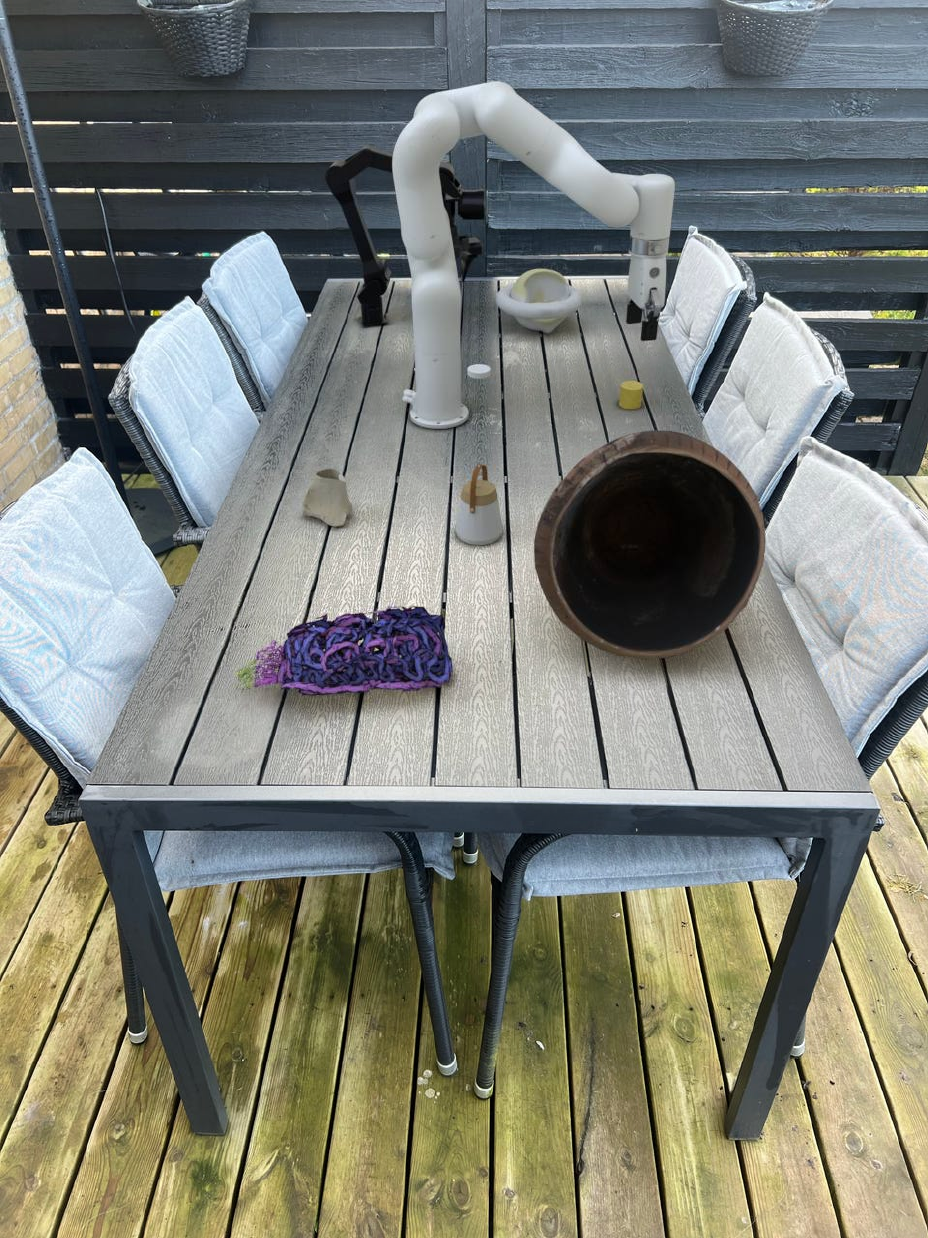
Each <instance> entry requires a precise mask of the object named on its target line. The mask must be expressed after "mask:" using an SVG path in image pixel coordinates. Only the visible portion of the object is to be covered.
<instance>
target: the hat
mask: <svg viewBox="0 0 928 1238" xmlns="http://www.w3.org/2000/svg"><path fill="white" fill-rule="evenodd" d="M495 303H496V305H497V307H498V308H499V309H500V311H502V312H503V313H505V314H507V315H510V316H513V317H514V318H515V319H516V321H517V322H518V323H519V324H520V325H521V326H523V328H526V329H529V330H531V331H536V332H537V331H539V332H542V333H545V334H550V333H551V332H553V331H554V330H555V328H557V327H558V325H560V324H561V323H562V322H563V321H564V320H565V319H566V318H567V317H568V316H570V315H572V314H574V313H575V312H577V311H578V310H579V309H580V308H581V306H582V303H583V295H582V293H581V292H580V291H579V290H578V289H577V288H575V287H574V286H572V285H570V284H569V283H568V282H567V280H566V278H565V277H564V275H563V274H561V273H560V272H559V271H556V270H553V269H548V268H535V269H530V270H527V271H525V272H523V273H522V274H521V275H520V276H519V277H518V278H517V279H516V281H515V282H513V283H509V284H507V285H505V286H503V287H501V288H500V290H498V292H497V293H496V295H495Z"/></svg>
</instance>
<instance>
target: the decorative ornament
mask: <svg viewBox="0 0 928 1238" xmlns="http://www.w3.org/2000/svg"><path fill="white" fill-rule="evenodd" d="M401 608H402V609H400V607H398V606H391V605H390V606H387V608H386V609H385V610H375V611H369V612H357V613H347V612H346V613H345V614H341V615H339V616H336V617H335V619H333V620H328V613H325V614H323V615H322V616H317V617H316V618H314V620H313V621H309V622H303V623H300V624H298V625H294V627H292V628H291V629H290V630H289V631H288V632H287V633H286V636H287V639H286V640H284V643H283V644H280V645H278V646H277V644H278V641H277V640H274V639H273V640H272V641H270V643H268V644H269V646H265V649H264V648H262V649H261V650H260V651H259V650H258V651H257V653H256V655H255V656H254V657H255V658H254V659H253V660H252V661H250V663H248V664H247V665H245V666H243V667H241V668H239V669H238V670H236V673H235V675H236V677H235V679H238V681H239V683H238V684H237V686H236V688H235V690H238V689H240V687H239V686H242V685H243V684H244V685H243V686H242V687H241V689H242V690H241V693H243V692H244V690H251V689H260V688H261V689H260V690H262V691H263V688H264V686H266V688H267V690H268V689H269V690H270V689H273V687H269V688H268V686H271V685H276V689H280V690H285V692H286V693H289V691H290V690H298V691H297V693H298V695H301V696H310V697H311V696H312V697H317V696H331V695H342V694H347V693H348V694H365V693H370V690H395V691H397V690H402V691H403V692H404V693H405V692H419V691H420V690H421V689H433V688H434V689H436V688H438V689H439V688H442V684H444V683H445V684H446V683H450V680H451V677H452V673H453V672H454V670H453V658H452V657H451V656H450V654H449V652H450V651H449V647H448V643H447V640H446V635H445V633H444V630H445V629H446V621H445V617H444V616H443V614H430V613H429V612H428V610H427V609H426V608H425V607H424V606H419V605H418V606H416V605H412V606H410V607H405V606H401ZM366 614H376V618H377V619H376V618H375V619H374V618H370V617H368V616H367V615H366ZM373 621H375V622H373ZM360 641H361V642H360ZM359 642H360V644H359ZM276 646H277V647H276ZM376 649H377V650H376ZM265 653H267V655H265ZM251 666H253V667H251ZM265 666H266V667H265ZM253 674H254V675H253ZM425 675H426V676H425ZM278 685H280V686H278ZM277 686H278V687H277Z"/></svg>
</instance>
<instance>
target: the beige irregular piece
mask: <svg viewBox="0 0 928 1238" xmlns="http://www.w3.org/2000/svg"><path fill="white" fill-rule="evenodd" d="M347 489H348V488H347V480H346V478H345V476H344V475H343V474H342V473H341V472H340V471H338V470H337V469H334V468H326V469H321V470H319V471H316V473H315V475H314V476H313V478H312V481H311V482H310V485H309V486H308V487H307V490H306V491H305V493H304V496H303V498H302V508H301V513H302V514H303V515H305V516H307V517H314V518H317V519H319V520H322V521H323V522H324V523H325V524H327V525H328V526H330V527H334V528H336V527H342V526H344V525H345V524H346V520H347V516H348V515H349V514H351V512H352V511H353V503H352V502H351V501H350V499H349V495H348V490H347Z"/></svg>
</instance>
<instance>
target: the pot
mask: <svg viewBox="0 0 928 1238" xmlns="http://www.w3.org/2000/svg"><path fill="white" fill-rule="evenodd" d="M535 530H536V531H535V534H534V540H533V545H534V546H533V558H534V569H535V572H536V576H537V579H538V582H539V585H540V587H541V590H542V592H543V594H544V597H545V599H546V601H547V603H548V605H549V607H550V608H551V610H552V612H553V613H554V614H555V616H556V617H557V619H558V620H559V621H560V622H561V623H562V624H563V625H564V626H565V627H566V628H568V629H569V630H570V631H571V632H572V633H573V634H574V635H576V636H577V637H578V638H580V639H581V640H582V641H583V642H585V643H586V644H589V645H591V646H593V647H594V648H597V649H599V650H601V651H603V652H606V653H608V654H611V655H614V656H616V657H623V658H631V659H639V660H654V659H668V658H672V657H673V656H678V655H682V654H686V653H688V652H691V651H693V650H695V649H697V648H699V647H701V646H703V645H705V644H707V643H709V642H710V641H712V640H713V639H715V638H716V637H718V636H720V635H721V634H722V633H723V632H725V631H726V630H727V629H728V628H729V626H730V625H731V624H732V623H734V622H735V620H736V619H737V618H738V616H739V614H740V613H741V612H742V611H743V610H744V609H745V608H747V606H748V603H749V601H750V599H751V597H752V595H753V594H754V591H755V589H756V588H757V587H756V586H757V585H756V584H757V583H758V581H759V579H760V576H761V573H762V569H763V566H764V561H765V553H766V542H767V541H766V539H767V538H766V530H765V521H764V513H763V511H762V509H761V506H760V502H759V499H758V496H757V494H756V492H755V490H754V489H753V487H752V485H751V483H750V482H749V480H748V479H747V477H746V476H745V475H744V474H743V472H742V471H741V470H740V469H739V467H738V466H736V465H735V464H734V463H733V461H732V460H730V459H729V458H728V457H727V456H726V455H725V454H724V453H723V452H721V450H718V449H717V448H716V447H714V446H713V445H711V444H709V443H707V442H705V441H703V440H702V439H699V438H696V437H693V436H690V435H688V434H685V433H682V432H677V431H673V430H659V429H657V430H655V429H652V430H645V431H638V432H634V433H633V432H632V433H629V434H626V435H623V436H620V437H618V438H615V439H613V440H611V441H610V442H608V443H606V444H604V445H602V446H600V447H599V448H596V449H595V450H593V451H592V452H590V453H589V454H587V455H585V456H584V457H583V458H582V459H581V460H580V461H578V462H577V463H576V464H575V465H574V466H573V468H572V469H571V470H570V471H569V472H568V473H567V474H566V476H565V477H564V478H563V479H562V480H561V481H560V482H559V483H558V485H557V486H556V487H555V488H554V489H553V491H552V493H551V494H550V496H549V497H548V499H547V501H546V503H545V506H544V507H543V509H542V510H541V513H540V516H539V520H538V522H537V525H536V529H535Z"/></svg>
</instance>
